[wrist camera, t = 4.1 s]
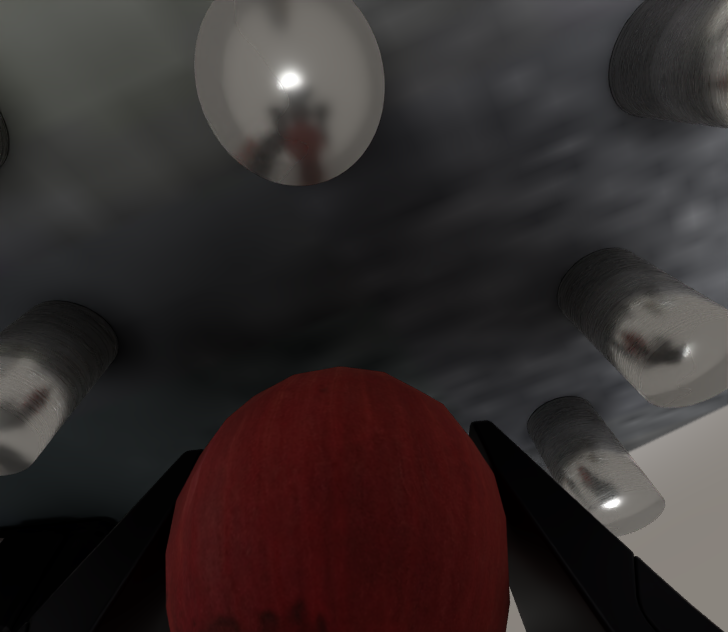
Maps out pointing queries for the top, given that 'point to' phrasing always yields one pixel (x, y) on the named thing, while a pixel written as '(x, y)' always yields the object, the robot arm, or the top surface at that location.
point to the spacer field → (345, 146)
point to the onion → (339, 516)
